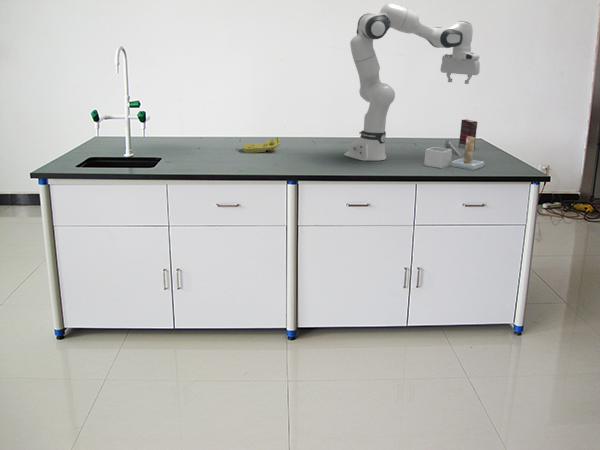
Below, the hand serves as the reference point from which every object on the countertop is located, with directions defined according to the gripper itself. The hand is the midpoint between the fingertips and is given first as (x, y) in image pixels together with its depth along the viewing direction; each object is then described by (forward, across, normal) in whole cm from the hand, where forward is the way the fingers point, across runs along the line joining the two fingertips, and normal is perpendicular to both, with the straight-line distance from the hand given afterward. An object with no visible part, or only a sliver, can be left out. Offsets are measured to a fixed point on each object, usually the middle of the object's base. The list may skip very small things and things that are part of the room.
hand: (458, 83), depth 310 cm
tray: (+39, +16, -12) cm, 44 cm away
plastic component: (+39, -80, -63) cm, 109 cm away
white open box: (+39, +4, -21) cm, 45 cm away
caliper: (+40, -6, +14) cm, 42 cm away
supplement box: (+39, -6, +31) cm, 50 cm away
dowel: (+38, +16, -12) cm, 43 cm away
